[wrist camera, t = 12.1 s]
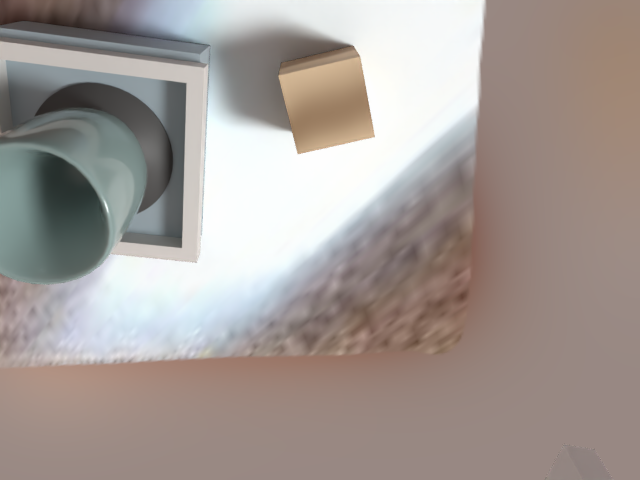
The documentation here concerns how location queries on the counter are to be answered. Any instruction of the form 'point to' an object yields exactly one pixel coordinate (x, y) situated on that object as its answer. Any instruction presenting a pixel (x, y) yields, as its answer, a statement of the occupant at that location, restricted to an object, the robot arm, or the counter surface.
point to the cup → (67, 193)
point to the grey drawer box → (123, 114)
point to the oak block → (326, 99)
